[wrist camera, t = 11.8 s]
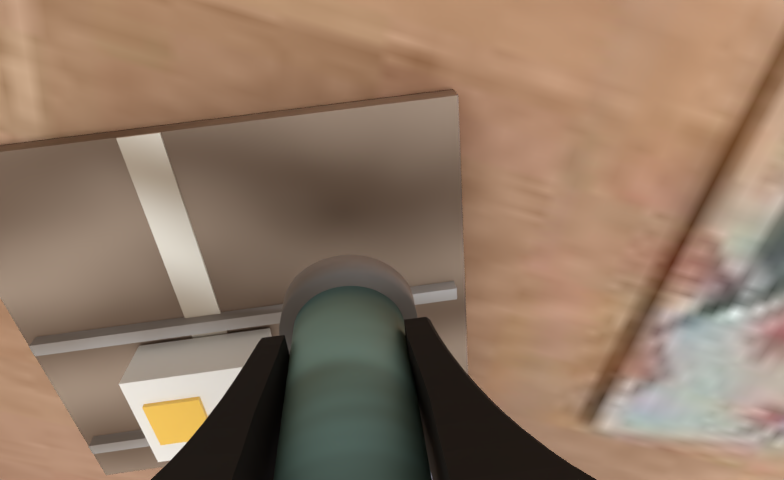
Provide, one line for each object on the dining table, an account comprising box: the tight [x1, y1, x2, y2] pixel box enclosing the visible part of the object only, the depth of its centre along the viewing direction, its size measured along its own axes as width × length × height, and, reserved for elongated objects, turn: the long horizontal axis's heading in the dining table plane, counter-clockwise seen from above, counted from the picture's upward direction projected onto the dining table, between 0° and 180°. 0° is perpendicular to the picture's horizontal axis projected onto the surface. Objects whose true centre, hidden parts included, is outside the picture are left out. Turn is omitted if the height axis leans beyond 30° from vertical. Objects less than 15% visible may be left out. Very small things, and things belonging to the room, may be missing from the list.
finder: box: [119, 328, 272, 462], centre depth 23 cm, size 5×6×3 cm
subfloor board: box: [0, 90, 468, 475], centre depth 23 cm, size 18×20×2 cm
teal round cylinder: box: [273, 255, 432, 480], centre depth 12 cm, size 4×4×7 cm
